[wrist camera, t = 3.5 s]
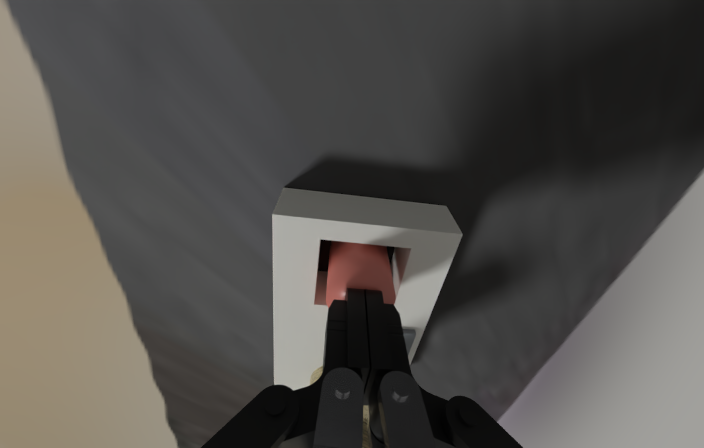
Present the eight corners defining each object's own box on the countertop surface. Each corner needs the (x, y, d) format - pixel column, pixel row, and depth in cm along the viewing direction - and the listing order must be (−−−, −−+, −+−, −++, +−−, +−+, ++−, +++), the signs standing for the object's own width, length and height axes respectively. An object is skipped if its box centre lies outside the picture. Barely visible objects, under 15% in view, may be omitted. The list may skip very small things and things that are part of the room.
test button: (332, 223, 15) (329, 270, 12) (391, 229, 15) (402, 276, 12) (327, 268, 16) (323, 320, 13) (380, 273, 17) (388, 325, 14)
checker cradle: (283, 187, 14) (270, 218, 12) (446, 205, 15) (465, 238, 12) (281, 366, 22) (273, 406, 19) (388, 372, 22) (393, 412, 20)
